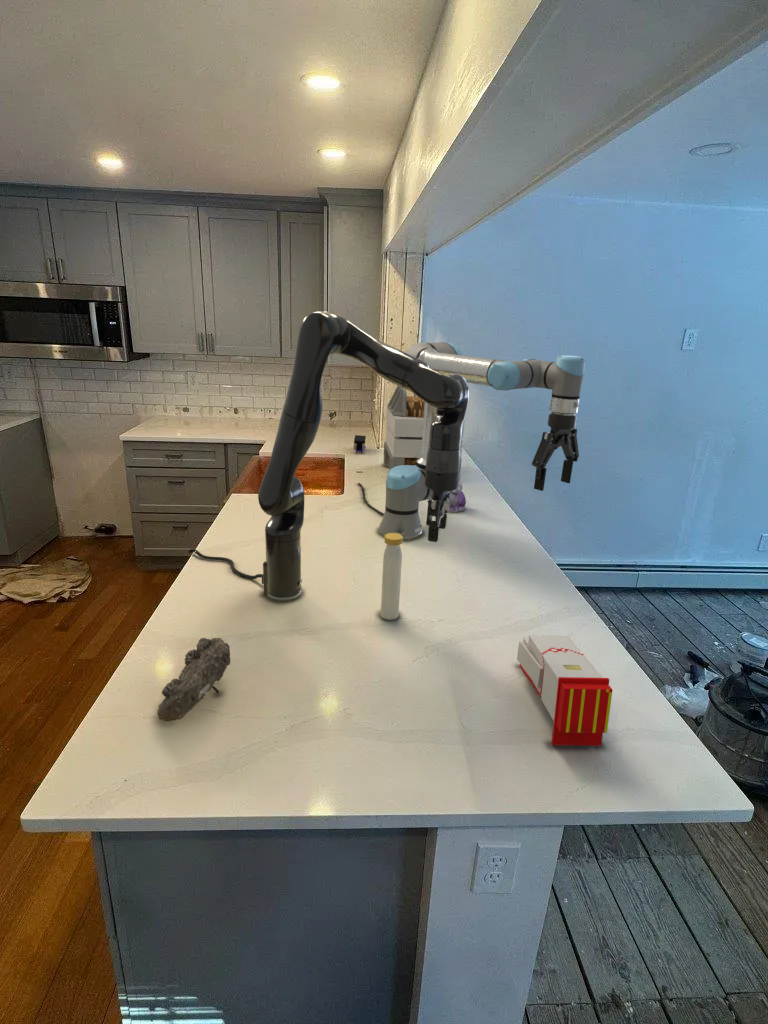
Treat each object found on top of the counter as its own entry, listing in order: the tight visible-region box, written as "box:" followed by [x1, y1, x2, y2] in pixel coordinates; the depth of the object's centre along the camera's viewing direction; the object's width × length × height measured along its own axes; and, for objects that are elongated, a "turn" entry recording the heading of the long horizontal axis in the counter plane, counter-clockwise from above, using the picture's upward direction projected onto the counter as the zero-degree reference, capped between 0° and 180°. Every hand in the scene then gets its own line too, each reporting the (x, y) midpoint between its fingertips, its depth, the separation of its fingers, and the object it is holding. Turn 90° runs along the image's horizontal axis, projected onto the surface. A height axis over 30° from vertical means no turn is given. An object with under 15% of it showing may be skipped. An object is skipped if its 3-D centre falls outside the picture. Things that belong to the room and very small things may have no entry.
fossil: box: [157, 637, 231, 723], centre depth 113 cm, size 22×10×15 cm
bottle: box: [380, 544, 403, 621], centre depth 143 cm, size 5×5×22 cm
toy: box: [516, 634, 613, 747], centre depth 116 cm, size 12×13×30 cm
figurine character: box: [353, 434, 367, 454], centre depth 311 cm, size 7×8×15 cm
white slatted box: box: [383, 385, 465, 472], centre depth 268 cm, size 34×33×41 cm
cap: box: [383, 533, 404, 546], centre depth 140 cm, size 4×4×2 cm
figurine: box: [448, 471, 467, 513], centre depth 225 cm, size 9×10×15 cm
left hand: (436, 534), depth 131 cm, fingers open, 8 cm apart
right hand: (552, 485), depth 166 cm, fingers open, 13 cm apart
